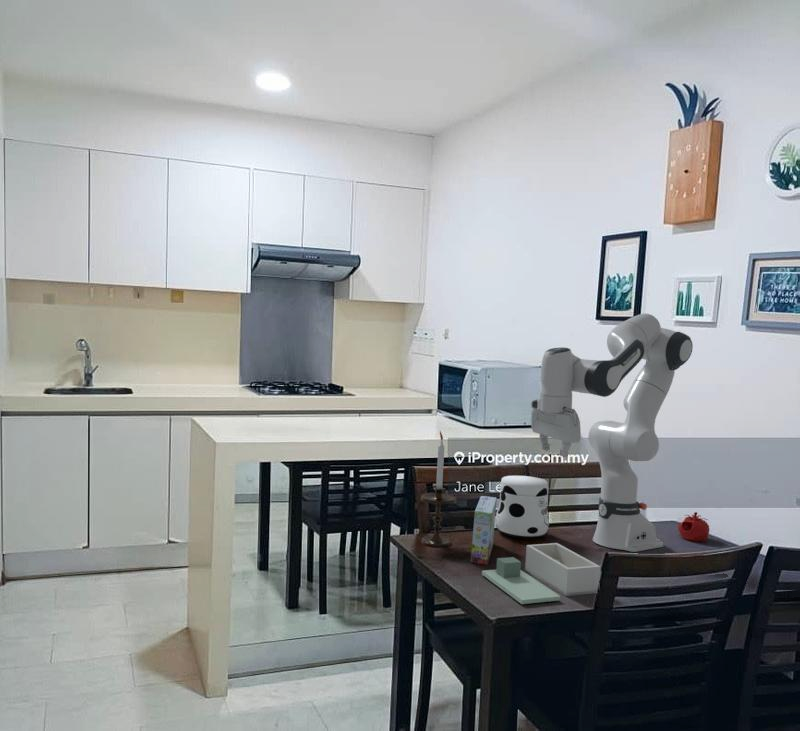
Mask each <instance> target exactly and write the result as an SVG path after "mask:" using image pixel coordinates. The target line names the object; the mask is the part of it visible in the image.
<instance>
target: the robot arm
mask: <svg viewBox="0 0 800 731" xmlns="http://www.w3.org/2000/svg"><path fill="white" fill-rule="evenodd" d="M606 346H607V349H608V351H609V354H611V356H612V358H611V359H607V360H596V359H584V358H580V357H578V356H577V355H575V354H574V353H573V352H572V349H571V348H568V347H552V348H549V349H547V350H546V351H544V354H543V356H542V361H541V367H540V368H541V369H540V381H541V391H540V393H539V394H540V395H539V396H540V397H538V398H536V399H534V400H531V401H530V402H531V403H530V407H531V409H532V410H531V413H530V414H531V417H530V420H531V422H530V424H531V425H530V426H531V430H532V432H533V433H536V434H539V440H540V444H541V450H543V451H545V452H546V451H550V445H551V444H549V442H548V438H551V439H555V440H559V441H561V445H563V446H562V448H561V449H560V450H559V456H561V457H562V458H567V457H569V451H570V448H571V447H572V444H575V443H577V444H578V443H579V442H581V438H582V436H581V435H582V433H581V420H580V417H579V415H578V413H577V411H576V410H575V408H573V392H576V393H582V394H588V395H595V396H599V397H604V398H606V397H609V396H612V394H614V392H616V390H617V389H618V388H619V386H620V385H621V382H622V381H623V380H624V379H625V377H626V376H627V375H629V373H630V372H631V371H632V370H633V369H634V368H635V367H636V366H637V365H638V364H639V363H640V362H641V361H642V359H643V360H644V361H645V364H644V365H643V366H642V368H641V369H640V370H639V372H638V374H637V375H636V377H635V379H634V380H633V382H632V383H631V386H630V388H629V389H628V391H627V393H626V395H625V396H624V398H623V407H624V409H625V411H626V412H627V413H626V417H625V420H624V422H618V421H614V420H602V421H596V422H595V423H594V424H593V425H592V426H591V427H590V428H589V432H588V441H589V444H590V446H591V447H592V448H593V450H594V451H595V453H596V456H597V459H598V463H599V466H600V473H601V484H600V486H601V487H600V488H601V489H600V497H599V498H598V499H599V500H598V518H597V524H596V528H595V532H594V534H593V537H592V541H593V543H595V544H598V545H600V546H602V547H605V548H609V549H614V550H615V549H616V550H622V551H628V552H631V553H636V552H637V553H638V552H641V551H647V550H653V549H658V548H663V547H664V542H663V541H661V539H659V538H657V531H656V530H657V529H656V527H655V525H654V524H653V523H652V522H651V521H650V520H649V519H648V518H646V517H645V516H644V515H643V514H642V513H641V510H643V511H646V510H647V508H648V505H647V503H644V502H640V503H639V501H637V500H638V499H637V497H638V484H639V483H638V482H639V481H638V476H637V475H636V473H635V472H634V470H633V469H632V467H631V464H630V461H632V462H648V461H651V460H652V459H653V460H654V458H655V457H656V456H657V455H658V452H659V448H660V443H659V438H658V435H657V434H656V431H655V427H656V426H655V425H656V424H655V423H656V419H657V416H658V414H659V411H660V410H661V407H662V405H663V403H664V401H665V399H666V397H667V395H668V393H669V391H670V389H671V385H672V384H673V380H674V377H675V371H676V370H678V369H679V368H681V366H683V365H684V364H686V362H687V361H688V360H689V359H690V358H691V355H692V354H693V353H692V352H693V341H692V339H691V337H690V336H689V335H688V334H685V333H684V332H681V331H675V330H672V329H668V328H663V327H661V323H660V321H659V320H658V318H656V316H655V315H652V314H650V313H639V314H637V315H634V316H632V317H629V318H628V319H626V320H624V321H622V322H621V323H619V324H618V325H617V326H615V327H614V328H612V329H611V330H610V332H609V333H608V335H607V338H606Z"/></svg>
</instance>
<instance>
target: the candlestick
mask: <svg viewBox="0 0 800 731" xmlns="http://www.w3.org/2000/svg"><path fill="white" fill-rule="evenodd" d="M439 437H440V443H439V444H438V447H437V462H436V463H437V464H436V465H437V467H436V486H435V487H434V486H433V487H432V489H433V490H435V492H425V493H422V494H420V500H421V501H422V502H424V503H427V504H433V505H434V506H435V516H433V517H432V521H433V522H434V525H433V526H432V528H433V529H434V533H433V535H425V536H423V537H422V538H421V544H422V545H425V546H427V547H432V548H445V547H446V546H447V547H449V546H451V544H452V543H451V542H452V539H450V538H448V537H447V536H443V535H441V534H440V529H441V528H442V526H441V525H440V523H441V522H442V520H443V518H442V517H441V506H442V505H443V506H444V505H452V504H455V503H457V497H456V496H455V495H453V494H450V493H445V492H443V491H444V490H446V488H445V487H443V481H444V480H443V479H444V463H445V462H444V459H445V445H444V443H443V440H444V436H443V434H442V432H441V430H439ZM447 547H446V548H447Z"/></svg>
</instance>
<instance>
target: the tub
mask: <svg viewBox="0 0 800 731" xmlns="http://www.w3.org/2000/svg"><path fill="white" fill-rule="evenodd" d="M525 550H526V551H525V565H524V567H525V568H524V570H525V571H526V572H528V573H529V574H531V575H533V576H534V577H536V579H538V580H540V581H541V582H543V583H544V584H546V585H547V586H549V587H551V588H552V589H554V590H555V591H557V592H558V593H560V594H561V595H562V596H564V597H574V596H575V597H576V596H583V595H584V596H585V595H593V594H597V593H596V592H597V588H598V583H599V580H600V579H601V566H600V565H599V564H598V563H597V564H596V563H595V562H593V561H591V560H589V559H587V558H586V557H584V556H582V555H581V554H578V553H577V552H575V551H573V550H571V549H569V548H567V547H566V546H564V545H562V544H560V543H558V542H551V543H541V544H540V543H538V544H536V543H535V544H527V545H526V549H525ZM599 584H600V583H599Z"/></svg>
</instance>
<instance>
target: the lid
mask: <svg viewBox="0 0 800 731" xmlns="http://www.w3.org/2000/svg"><path fill="white" fill-rule="evenodd" d="M521 566H522V561H520V560H519V559H517V558H516V557H514V556H510V557H497V558H496V568H495V569H486V570H481V575H482V576H483V577H484V578H486V579H487V580H489V581H490V582H491V583H493V584H494V585H495V586H497V587H498V588H500V590H502V591H503V592H505V593H506V594H507V595H509V596H510V597H511V598H512V599H514V600H515V601H516V602H518V603H520V605H528V604H535V603H536V604H538V603H546V602H557V601H561V595H560V594H558V593H557V592H555V591H554V590H552V589H550V588H549V587H547V586H546V585H545V584H542V582H540V581H538V580H537V579H535V578H534V577H532V576H530V575H529V574H528V573H526V572H525V571H523V570H522V569H521V568H522V567H521Z"/></svg>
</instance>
